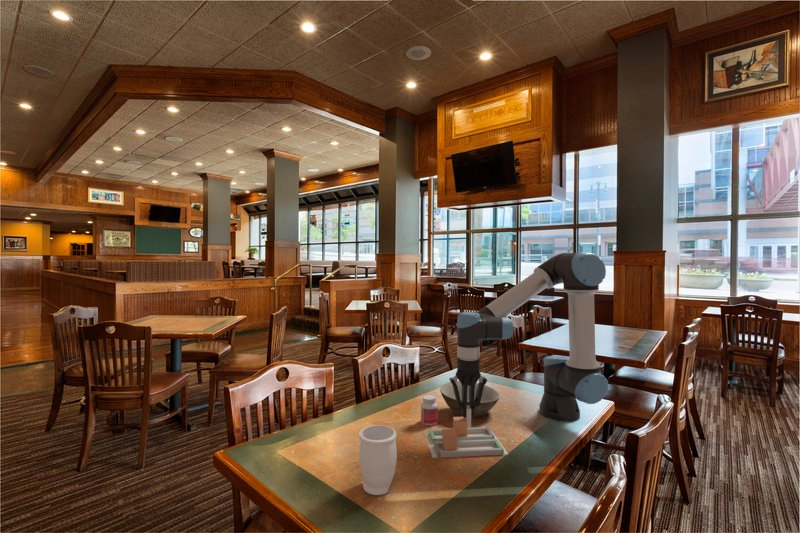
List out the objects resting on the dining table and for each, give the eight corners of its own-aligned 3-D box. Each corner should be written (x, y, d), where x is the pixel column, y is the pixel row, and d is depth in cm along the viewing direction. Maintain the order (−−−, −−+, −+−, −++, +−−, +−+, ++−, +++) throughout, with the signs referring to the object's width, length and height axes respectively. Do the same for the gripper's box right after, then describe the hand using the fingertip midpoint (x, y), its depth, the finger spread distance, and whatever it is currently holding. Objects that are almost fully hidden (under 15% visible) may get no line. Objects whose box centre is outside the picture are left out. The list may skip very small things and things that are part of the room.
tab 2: (464, 433, 133) (464, 416, 133) (467, 439, 129) (467, 421, 129) (453, 434, 133) (453, 417, 133) (455, 439, 129) (455, 421, 129)
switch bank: (492, 435, 136) (492, 426, 135) (508, 458, 120) (508, 449, 120) (425, 438, 134) (424, 429, 134) (432, 462, 118) (432, 452, 118)
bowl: (509, 412, 156) (510, 388, 155) (481, 432, 138) (481, 405, 137) (459, 398, 171) (459, 376, 171) (428, 415, 153) (428, 390, 153)
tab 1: (454, 447, 124) (454, 428, 124) (457, 453, 120) (457, 434, 120) (442, 447, 123) (442, 429, 123) (444, 453, 119) (444, 434, 119)
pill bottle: (441, 427, 142) (441, 398, 142) (427, 431, 139) (427, 401, 138) (430, 421, 147) (430, 393, 147) (417, 425, 144) (417, 396, 143)
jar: (359, 476, 110) (359, 425, 110) (395, 474, 111) (395, 423, 111) (358, 499, 100) (358, 442, 99) (398, 497, 100) (398, 441, 100)
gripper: (483, 354, 135) (483, 421, 135) (447, 355, 134) (446, 422, 134) (490, 360, 127) (490, 430, 128) (451, 361, 126) (451, 432, 127)
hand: (467, 426), depth 131 cm, fingers closed
